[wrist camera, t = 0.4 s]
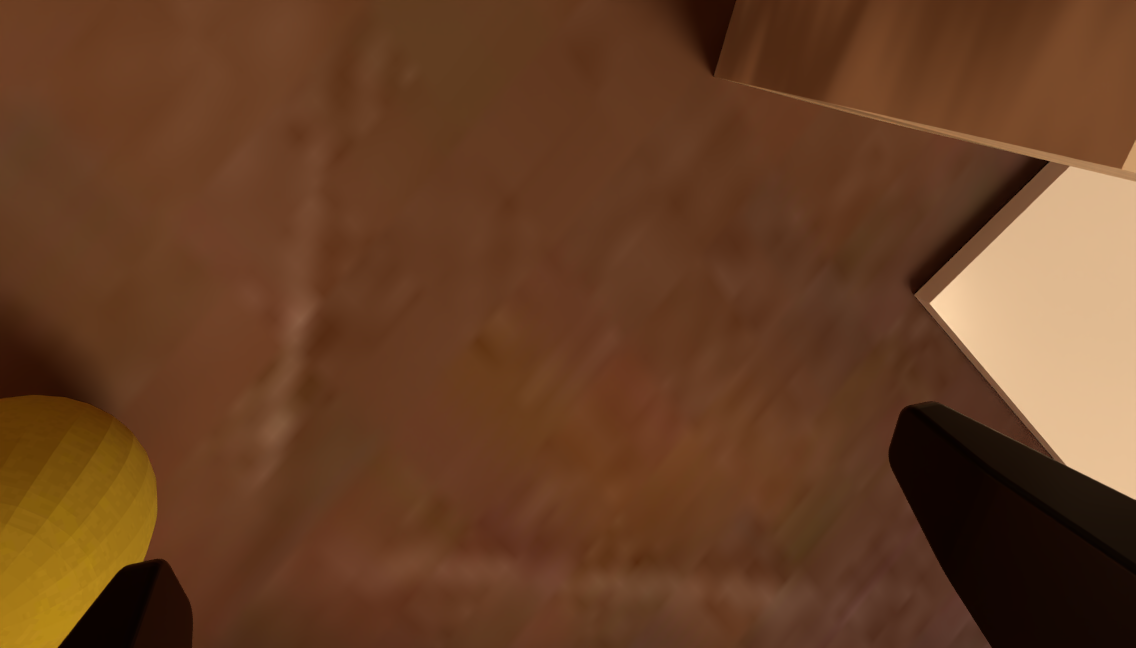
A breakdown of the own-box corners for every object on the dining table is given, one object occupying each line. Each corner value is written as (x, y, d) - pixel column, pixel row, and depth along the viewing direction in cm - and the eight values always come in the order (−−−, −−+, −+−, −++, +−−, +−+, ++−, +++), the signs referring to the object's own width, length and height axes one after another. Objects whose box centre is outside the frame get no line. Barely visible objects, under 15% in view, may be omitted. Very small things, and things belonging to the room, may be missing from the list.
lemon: (73, 305, 20) (-100, 478, 13) (230, 443, 22) (161, 655, 15) (-92, 429, 20) (-354, 668, 13) (82, 552, 22) (-56, 811, 15)
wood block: (861, 116, 23) (1371, 237, 11) (713, 76, 21) (1121, 169, 10) (928, -65, 21) (1603, -144, 10) (771, -122, 20) (1347, -298, 8)
